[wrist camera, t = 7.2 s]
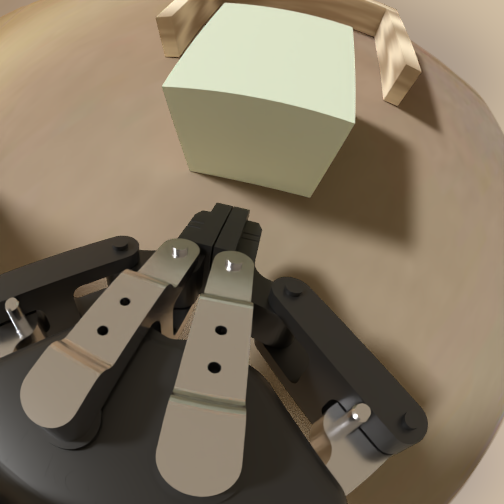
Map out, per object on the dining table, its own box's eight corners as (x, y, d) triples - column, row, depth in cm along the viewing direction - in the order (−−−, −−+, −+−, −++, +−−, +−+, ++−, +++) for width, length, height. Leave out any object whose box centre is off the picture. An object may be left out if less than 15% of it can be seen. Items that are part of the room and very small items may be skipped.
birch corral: (397, 106, 19) (421, 71, 14) (165, 56, 19) (155, 17, 15) (383, 36, 22) (396, 9, 17) (213, 0, 22) (212, -29, 18)
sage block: (309, 198, 17) (355, 123, 9) (190, 171, 17) (161, 86, 9) (323, 102, 19) (352, 27, 11) (227, 82, 19) (224, 2, 11)
